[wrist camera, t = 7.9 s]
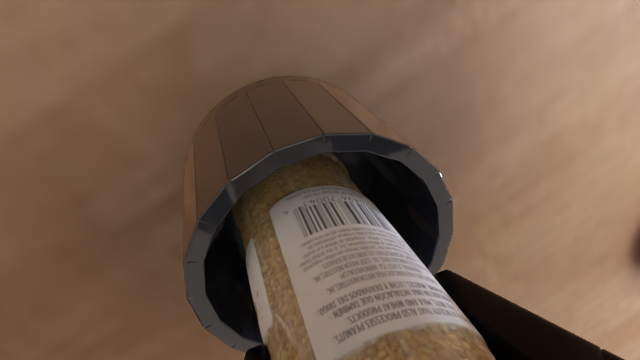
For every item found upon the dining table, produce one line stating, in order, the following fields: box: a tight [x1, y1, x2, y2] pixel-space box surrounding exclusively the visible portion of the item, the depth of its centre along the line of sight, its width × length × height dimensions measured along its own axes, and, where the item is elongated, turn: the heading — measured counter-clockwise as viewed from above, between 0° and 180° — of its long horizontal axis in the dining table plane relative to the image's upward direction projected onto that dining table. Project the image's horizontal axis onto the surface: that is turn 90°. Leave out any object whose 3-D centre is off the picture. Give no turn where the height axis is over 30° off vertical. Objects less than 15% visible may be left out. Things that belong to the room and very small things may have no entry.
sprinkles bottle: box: [233, 152, 496, 360], centre depth 9 cm, size 5×5×13 cm
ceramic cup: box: [183, 76, 453, 352], centre depth 13 cm, size 8×8×6 cm
